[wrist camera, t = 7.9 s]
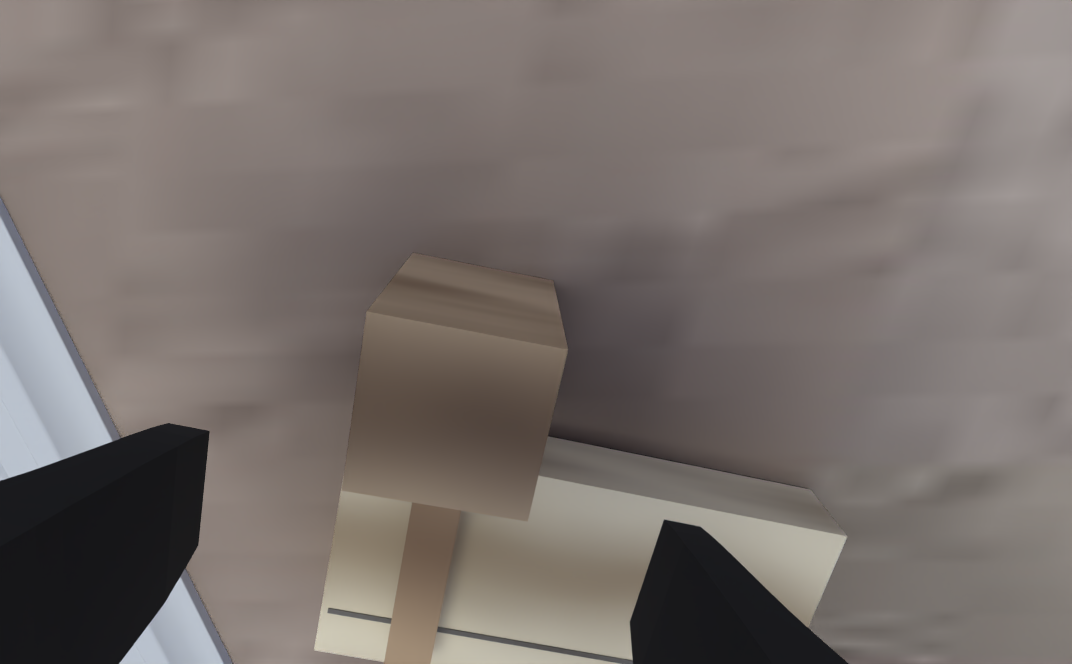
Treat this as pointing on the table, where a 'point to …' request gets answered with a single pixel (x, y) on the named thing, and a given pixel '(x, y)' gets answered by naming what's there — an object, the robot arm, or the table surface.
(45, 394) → the baseboard
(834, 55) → the table surface
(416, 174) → the table surface
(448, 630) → the plank
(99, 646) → the robot arm
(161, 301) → the table surface
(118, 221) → the table surface
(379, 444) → the wooden mallet
